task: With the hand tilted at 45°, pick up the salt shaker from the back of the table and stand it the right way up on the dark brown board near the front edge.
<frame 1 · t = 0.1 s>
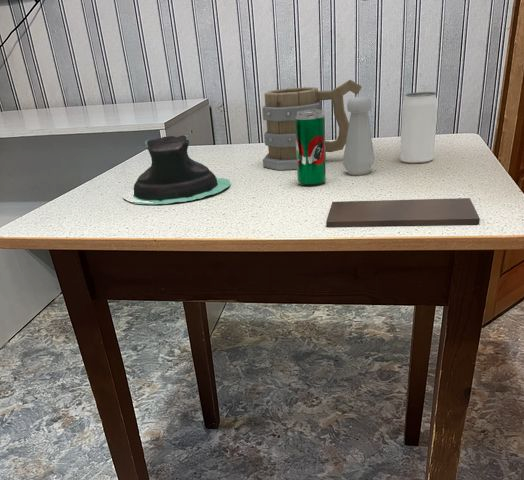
soda can: (311, 184, 97), on the table
dark brown board: (399, 214, 76), on the table
tankard: (312, 163, 112), on the table
can: (416, 161, 106), on the table
dark flared mound: (177, 191, 100), on the table
salt shaker: (358, 173, 101), on the table
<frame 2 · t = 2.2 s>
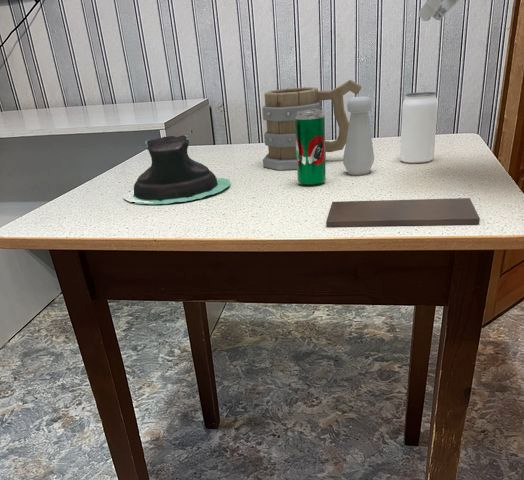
hand: (428, 18, 84), 24 cm above the table, tool tilted 40°, fingers open, 8 cm apart
nothing on the table moved.
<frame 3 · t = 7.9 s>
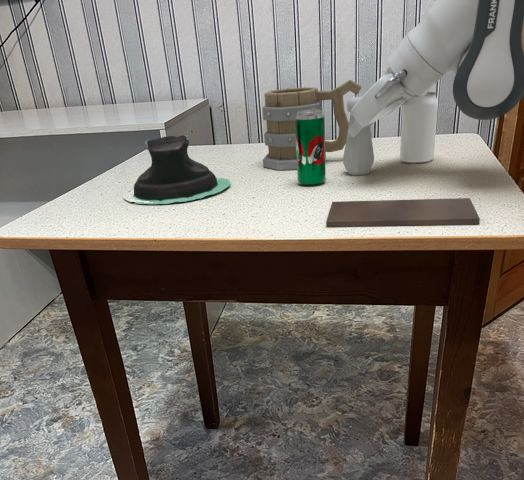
hand: (355, 132, 98), 7 cm above the table, tool tilted 45°, fingers closed on salt shaker, 3 cm apart
salt shaker: (358, 173, 101), on the table, touching gripper
everything else where it was.
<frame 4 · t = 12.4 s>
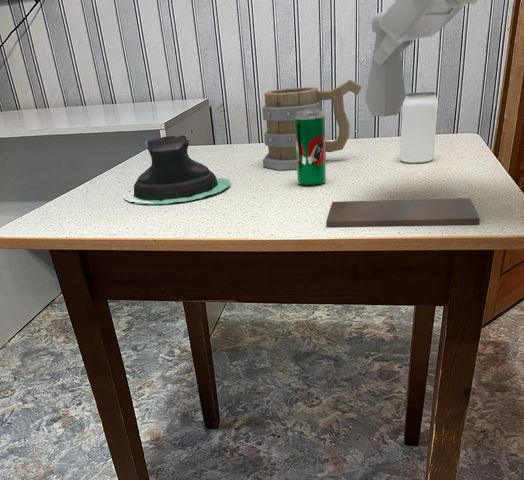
hand: (382, 60, 76), 19 cm above the table, tool tilted 45°, fingers closed on salt shaker, 3 cm apart
salt shaker: (384, 115, 80), point 12 cm above the table, touching gripper
everything else where it was.
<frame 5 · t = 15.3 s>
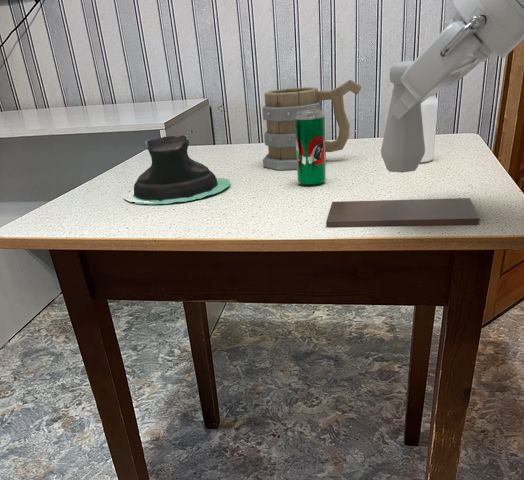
hand: (400, 112, 70), 14 cm above the table, tool tilted 45°, fingers closed on salt shaker, 3 cm apart
salt shaker: (401, 170, 73), point 6 cm above the table, touching gripper
everything else where it was.
when the fingers open (8 cm above the table, at t = 17.2 s): salt shaker stays where it is, resting on dark brown board.
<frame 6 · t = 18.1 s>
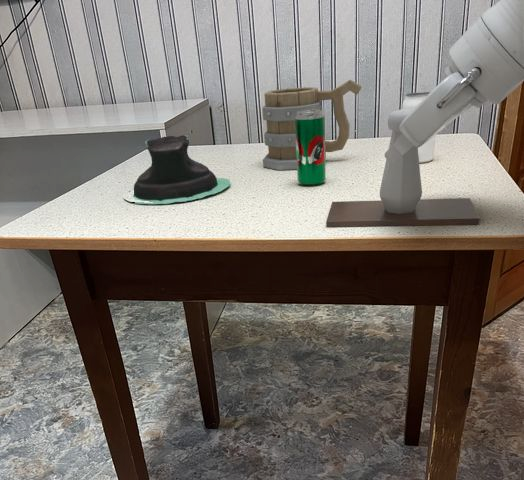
hand: (398, 151, 72), 9 cm above the table, tool tilted 45°, fingers open, 8 cm apart
salt shaker: (399, 210, 76), point 1 cm above the table, touching dark brown board
everything else where it was.
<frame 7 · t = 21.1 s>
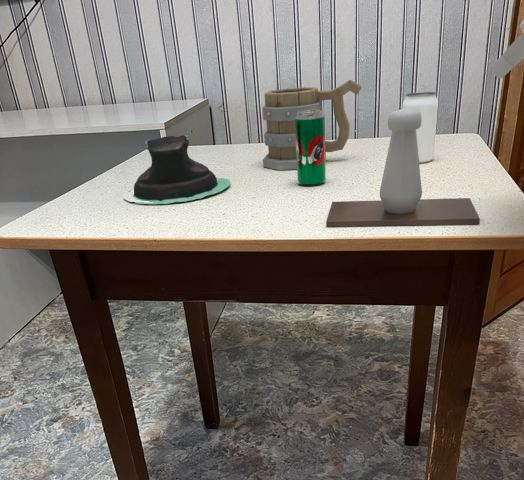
hand: (500, 69, 63), 18 cm above the table, tool tilted 45°, fingers open, 8 cm apart
nothing on the table moved.
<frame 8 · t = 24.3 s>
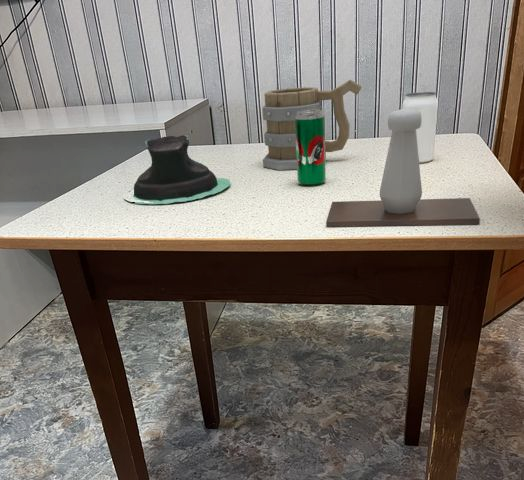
nothing on the table moved.
at the end: salt shaker inside the target area on the dark brown board (0.1 cm from its centre), point 0.6 cm above the dark brown board's base; salt shaker tilted 0°; the gripper is holding nothing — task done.
